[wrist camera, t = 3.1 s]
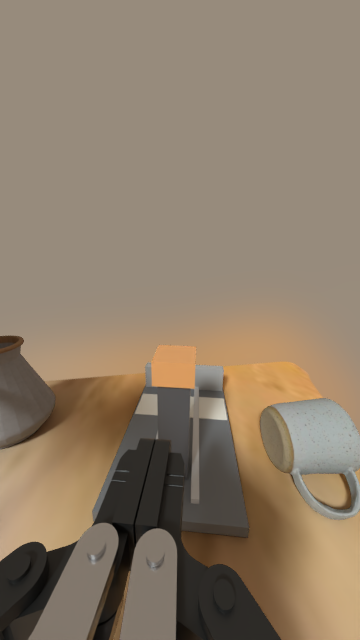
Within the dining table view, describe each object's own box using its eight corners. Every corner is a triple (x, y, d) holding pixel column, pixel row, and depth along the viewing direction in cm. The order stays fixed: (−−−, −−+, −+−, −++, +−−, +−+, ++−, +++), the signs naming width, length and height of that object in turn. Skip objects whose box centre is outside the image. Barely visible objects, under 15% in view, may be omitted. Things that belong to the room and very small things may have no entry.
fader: (191, 484, 22) (195, 363, 18) (154, 480, 22) (151, 361, 19) (192, 452, 26) (196, 346, 22) (160, 449, 26) (159, 344, 22)
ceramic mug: (253, 437, 30) (260, 389, 27) (309, 433, 30) (320, 386, 28) (302, 531, 20) (319, 466, 17) (384, 522, 20) (410, 459, 18)
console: (247, 537, 19) (254, 493, 18) (93, 520, 20) (87, 477, 19) (221, 391, 40) (223, 365, 39) (147, 386, 41) (146, 361, 40)
